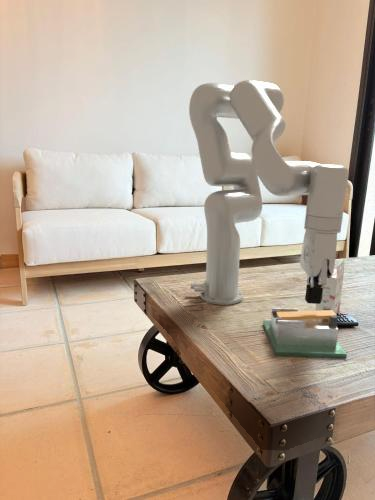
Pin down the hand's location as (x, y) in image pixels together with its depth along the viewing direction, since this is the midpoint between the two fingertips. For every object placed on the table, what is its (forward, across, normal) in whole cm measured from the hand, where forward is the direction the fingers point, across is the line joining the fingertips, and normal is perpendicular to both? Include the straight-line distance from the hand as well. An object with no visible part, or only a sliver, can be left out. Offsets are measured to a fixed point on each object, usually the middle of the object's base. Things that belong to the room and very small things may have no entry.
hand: (312, 301), depth 90 cm
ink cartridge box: (+10, -15, +9) cm, 20 cm away
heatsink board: (+9, +1, -2) cm, 9 cm away
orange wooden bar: (+3, +1, -1) cm, 4 cm away
